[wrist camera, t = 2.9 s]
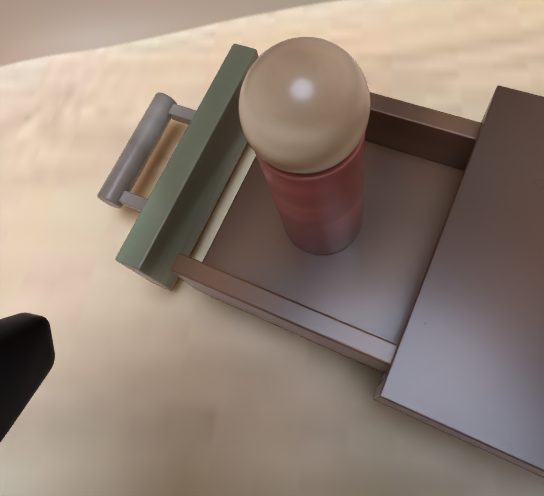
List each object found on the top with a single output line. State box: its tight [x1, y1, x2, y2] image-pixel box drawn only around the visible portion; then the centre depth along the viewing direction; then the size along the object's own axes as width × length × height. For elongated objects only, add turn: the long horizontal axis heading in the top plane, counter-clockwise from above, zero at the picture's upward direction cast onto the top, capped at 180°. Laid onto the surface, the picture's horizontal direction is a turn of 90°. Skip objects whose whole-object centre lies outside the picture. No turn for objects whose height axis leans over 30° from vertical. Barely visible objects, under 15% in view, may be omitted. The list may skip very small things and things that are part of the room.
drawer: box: [97, 44, 482, 374], centre depth 21 cm, size 16×11×4 cm
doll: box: [239, 37, 370, 255], centre depth 16 cm, size 4×4×10 cm
